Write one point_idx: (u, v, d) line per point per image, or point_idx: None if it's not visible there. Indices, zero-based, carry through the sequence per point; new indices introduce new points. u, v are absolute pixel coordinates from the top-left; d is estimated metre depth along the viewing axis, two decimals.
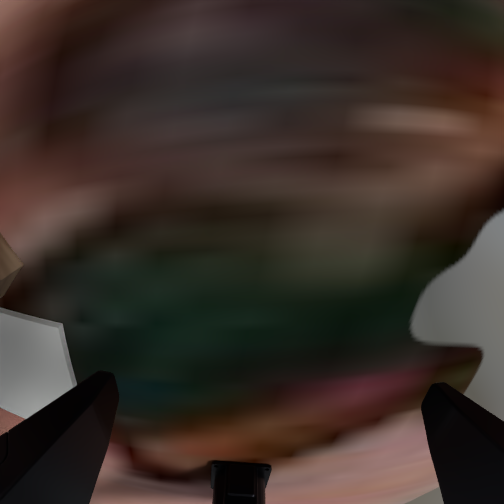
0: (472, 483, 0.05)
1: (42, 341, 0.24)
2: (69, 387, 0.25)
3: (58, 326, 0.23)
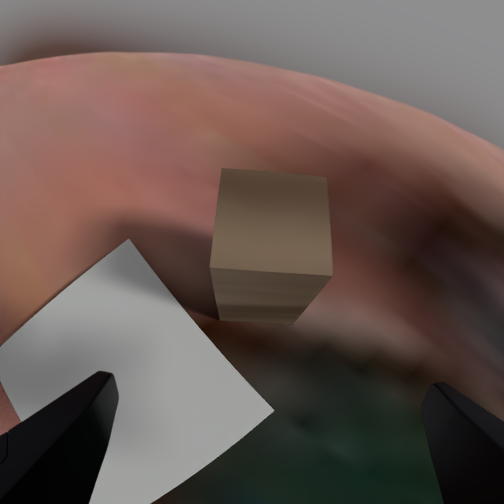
0: (472, 483, 0.05)
1: (227, 404, 0.19)
2: (186, 470, 0.17)
3: None
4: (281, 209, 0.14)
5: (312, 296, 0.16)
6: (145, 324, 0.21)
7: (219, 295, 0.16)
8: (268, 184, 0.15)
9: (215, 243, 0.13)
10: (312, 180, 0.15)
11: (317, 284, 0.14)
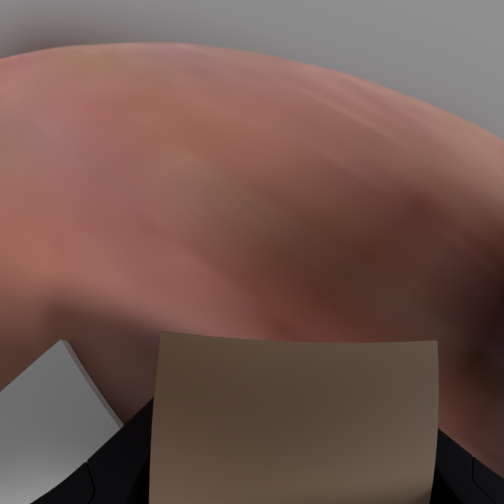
0: None
1: None
2: None
3: None
4: (327, 462, 0.04)
5: None
6: None
7: None
8: (294, 387, 0.05)
9: None
10: (407, 357, 0.05)
11: None
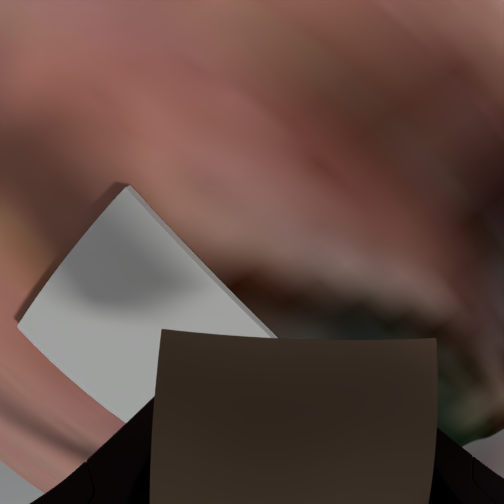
0: None
1: None
2: None
3: None
4: (327, 458, 0.04)
5: None
6: (167, 292, 0.19)
7: None
8: (294, 384, 0.05)
9: None
10: (406, 355, 0.05)
11: None
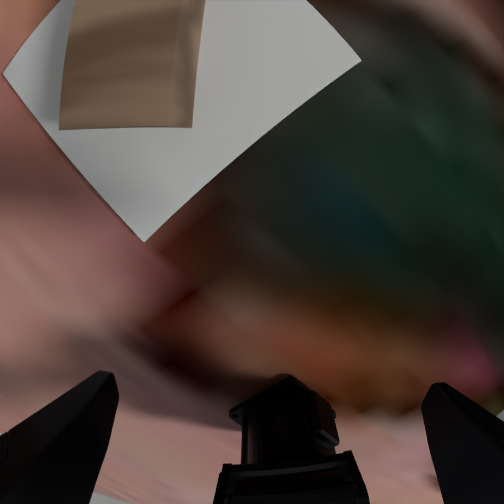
0: (472, 483, 0.05)
1: (308, 47, 0.14)
2: (255, 129, 0.16)
3: (358, 59, 0.15)
4: None
5: None
6: None
7: (79, 0, 0.09)
8: None
9: None
10: None
11: None
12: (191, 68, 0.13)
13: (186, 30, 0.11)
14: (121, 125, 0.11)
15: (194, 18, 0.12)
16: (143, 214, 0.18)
